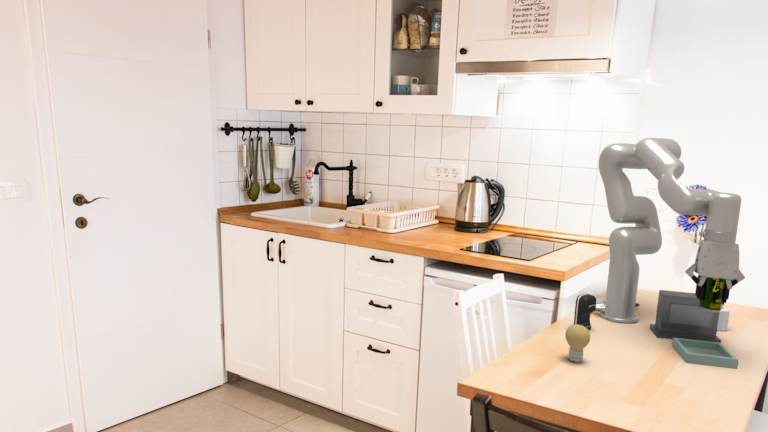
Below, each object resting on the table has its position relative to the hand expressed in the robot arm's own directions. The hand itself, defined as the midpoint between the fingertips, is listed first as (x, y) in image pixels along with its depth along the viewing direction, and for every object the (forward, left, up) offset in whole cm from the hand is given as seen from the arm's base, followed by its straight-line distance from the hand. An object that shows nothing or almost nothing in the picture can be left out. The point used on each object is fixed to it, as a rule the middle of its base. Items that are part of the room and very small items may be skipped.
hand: (711, 299), depth 157 cm
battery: (-31, +12, -17) cm, 38 cm away
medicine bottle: (+12, +30, -17) cm, 37 cm away
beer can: (0, 0, -3) cm, 3 cm away
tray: (0, 0, -17) cm, 17 cm away
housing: (0, +17, -17) cm, 24 cm away
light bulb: (-37, -15, -17) cm, 43 cm away
